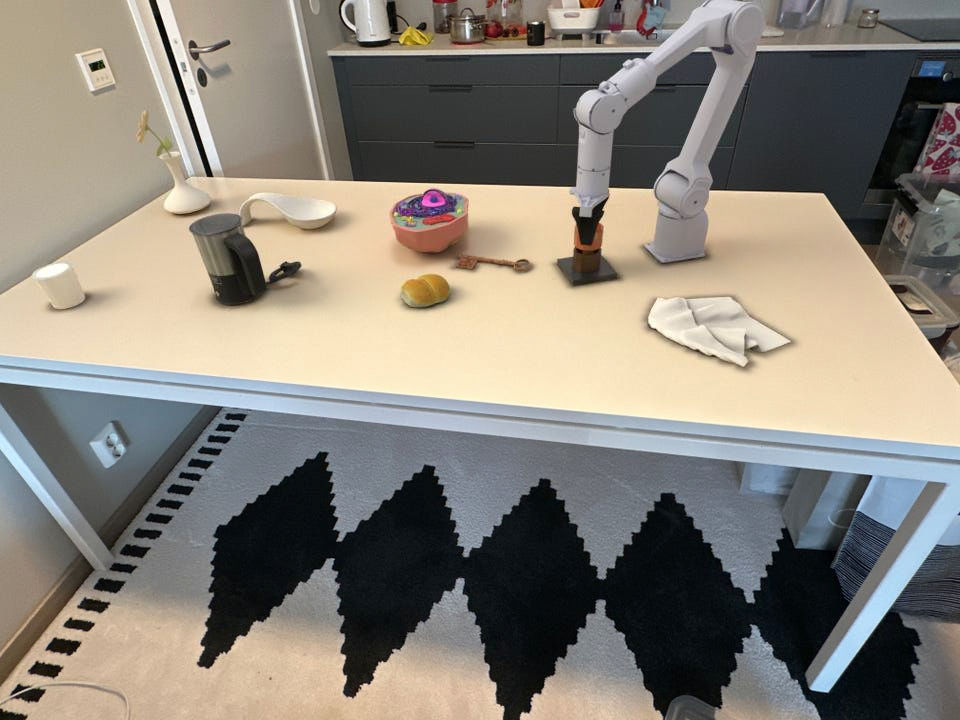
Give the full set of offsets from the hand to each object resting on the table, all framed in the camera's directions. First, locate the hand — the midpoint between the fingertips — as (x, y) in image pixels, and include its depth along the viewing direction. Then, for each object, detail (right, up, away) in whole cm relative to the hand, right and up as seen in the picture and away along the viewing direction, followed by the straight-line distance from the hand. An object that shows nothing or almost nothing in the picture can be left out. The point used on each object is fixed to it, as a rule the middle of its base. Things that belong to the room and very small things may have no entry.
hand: (588, 237), depth 110 cm
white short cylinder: (-101, -12, +5) cm, 102 cm away
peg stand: (0, -6, +4) cm, 7 cm away
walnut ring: (0, -5, +4) cm, 6 cm away
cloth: (+19, -18, -13) cm, 29 cm away
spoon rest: (-66, +9, +29) cm, 73 cm away
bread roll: (-31, -12, 0) cm, 33 cm away
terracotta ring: (0, -1, +1) cm, 1 cm away
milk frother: (-64, -9, +6) cm, 65 cm away
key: (-18, -4, +8) cm, 20 cm away
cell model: (-31, +2, +17) cm, 35 cm away
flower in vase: (-95, +15, +39) cm, 104 cm away
